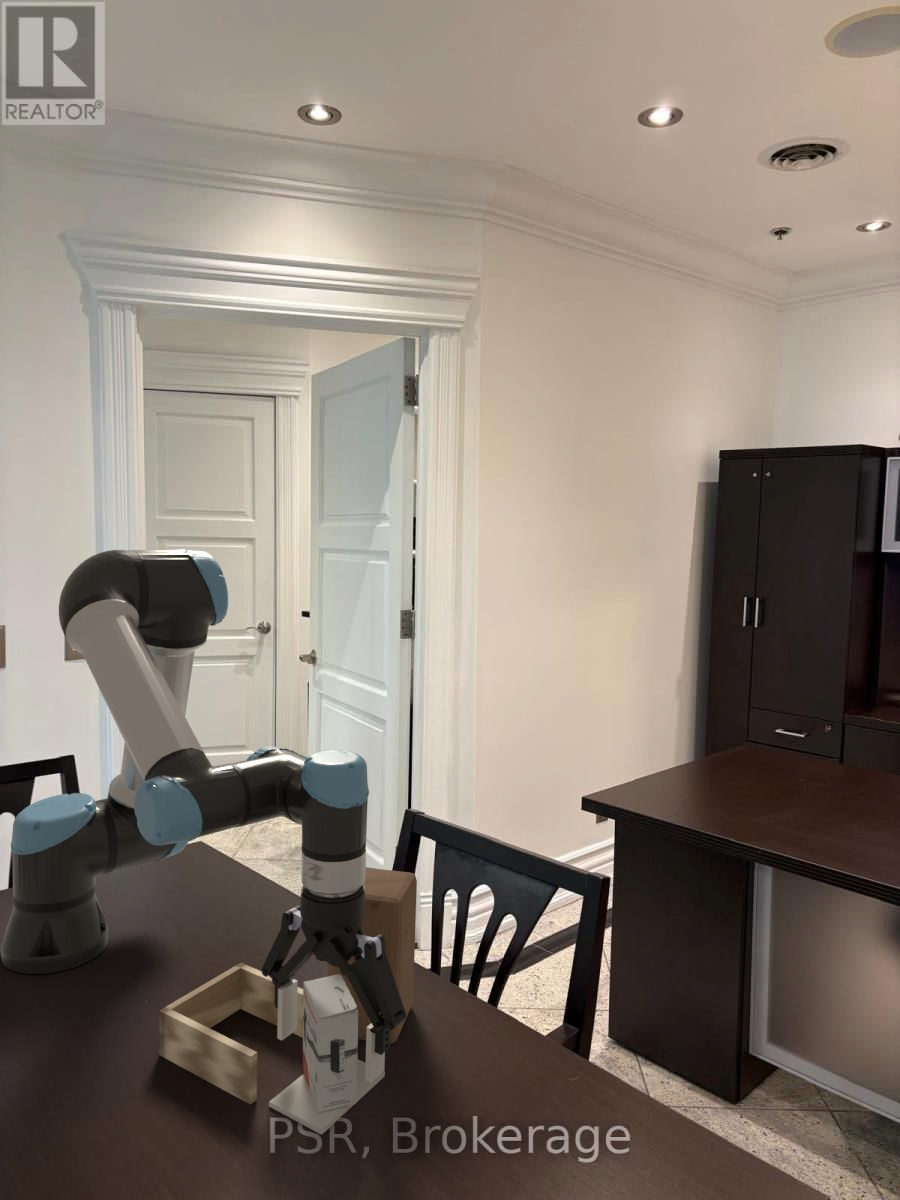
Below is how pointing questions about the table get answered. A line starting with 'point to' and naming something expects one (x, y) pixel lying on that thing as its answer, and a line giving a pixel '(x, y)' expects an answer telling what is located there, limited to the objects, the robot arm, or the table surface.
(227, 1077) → the crate
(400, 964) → the wooden block
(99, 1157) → the table surface
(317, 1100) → the ink box
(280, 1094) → the mat
